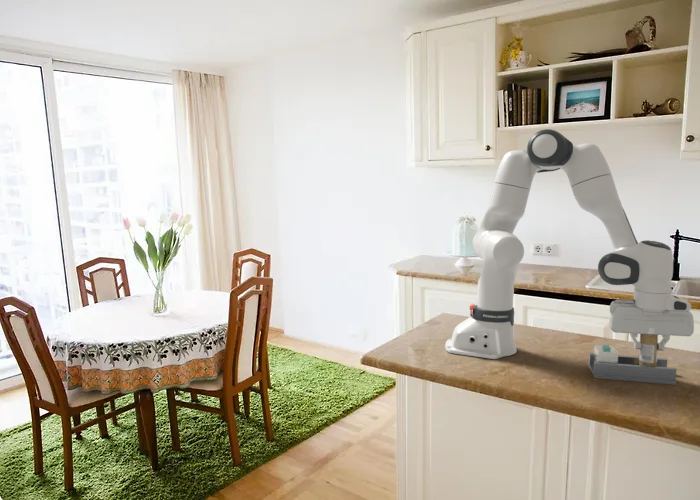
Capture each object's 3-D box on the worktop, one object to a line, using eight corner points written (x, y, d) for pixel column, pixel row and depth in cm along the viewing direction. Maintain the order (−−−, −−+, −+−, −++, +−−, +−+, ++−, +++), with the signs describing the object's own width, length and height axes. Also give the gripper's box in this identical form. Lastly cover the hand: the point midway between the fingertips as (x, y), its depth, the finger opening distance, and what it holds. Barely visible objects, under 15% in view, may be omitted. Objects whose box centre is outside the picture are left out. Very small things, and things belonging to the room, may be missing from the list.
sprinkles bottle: (660, 372, 145) (662, 325, 143) (650, 376, 143) (652, 328, 141) (644, 367, 149) (646, 321, 147) (634, 371, 147) (636, 324, 145)
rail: (594, 378, 145) (596, 351, 143) (588, 365, 154) (589, 339, 153) (676, 384, 139) (678, 356, 138) (664, 371, 149) (666, 344, 148)
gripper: (612, 301, 142) (610, 350, 144) (698, 304, 137) (694, 355, 139) (607, 296, 148) (605, 343, 150) (689, 299, 143) (685, 348, 145)
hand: (648, 349), depth 144 cm, fingers closed on sprinkles bottle, 4 cm apart
